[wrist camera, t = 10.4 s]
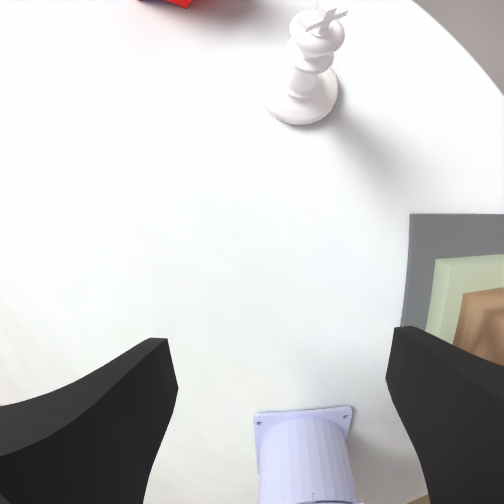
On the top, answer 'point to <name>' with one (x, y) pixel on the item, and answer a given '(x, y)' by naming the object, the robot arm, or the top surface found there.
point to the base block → (459, 289)
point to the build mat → (443, 253)
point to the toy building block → (181, 2)
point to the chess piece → (304, 67)
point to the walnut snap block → (482, 325)
